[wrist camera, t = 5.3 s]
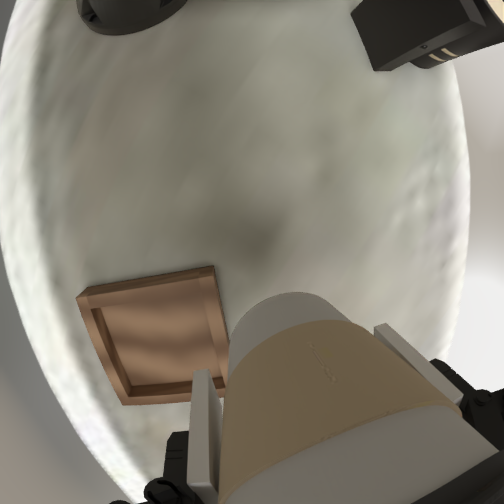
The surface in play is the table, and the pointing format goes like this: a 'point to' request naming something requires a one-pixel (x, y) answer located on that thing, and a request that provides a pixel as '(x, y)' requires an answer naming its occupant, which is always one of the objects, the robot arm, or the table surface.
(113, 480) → the table surface
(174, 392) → the tray
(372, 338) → the coffee cup
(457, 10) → the light fixture
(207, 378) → the robot arm
